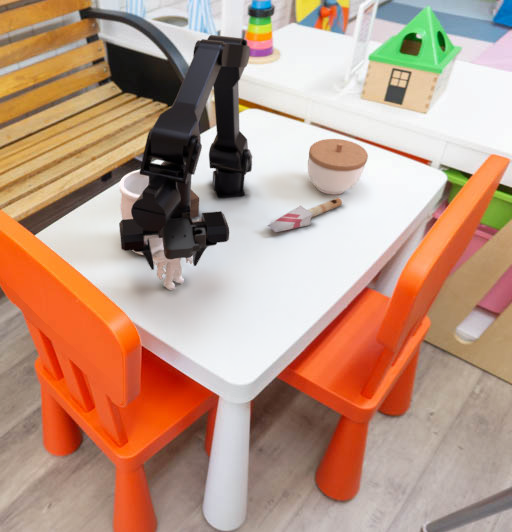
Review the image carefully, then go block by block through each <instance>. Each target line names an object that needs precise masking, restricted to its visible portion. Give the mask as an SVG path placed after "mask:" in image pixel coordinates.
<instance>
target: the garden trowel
mask: <svg viewBox="0 0 512 532" xmlns="http://www.w3.org/2000/svg"><path fill="white" fill-rule="evenodd" d="M342 204H343V201H342V199H341V198H340V197H336V198H333V199H331V200H329V201H326V202H324V203H321V204H319V205H316V206H314V207H311V208H309V209H308V208H305V207H304V206H302V205H299V206H297V207H296V208H294V209H292V210H290V211H289V212H287V213H286V214H283V215H282V216H280V217H279V218H277V219H275V220H274V221H272V222H270V223H268V224H267V225H266V226H267V227H268V228H269V229H271V230H272V231H273V232H275V233H279V232H284V231H288V230H293V229H297V228H301V227H302V228H303V227H306V226H310V225H312V222H311V219H312V218H313V217H317V216H318V215H321V214H323V213H325V212H328V211H330V210H332V209H335V208H338V207H340V206H342Z"/></svg>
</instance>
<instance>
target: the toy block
mask: <svg viewBox="0 0 512 532" xmlns="http://www.w3.org/2000/svg"><path fill="white" fill-rule="evenodd" d="M190 214H191V219H194V218H198V217H199V216H200V215H199V214H200V196H198V195H197V193H195V192H194V190H192V189H191V205H190Z"/></svg>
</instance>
